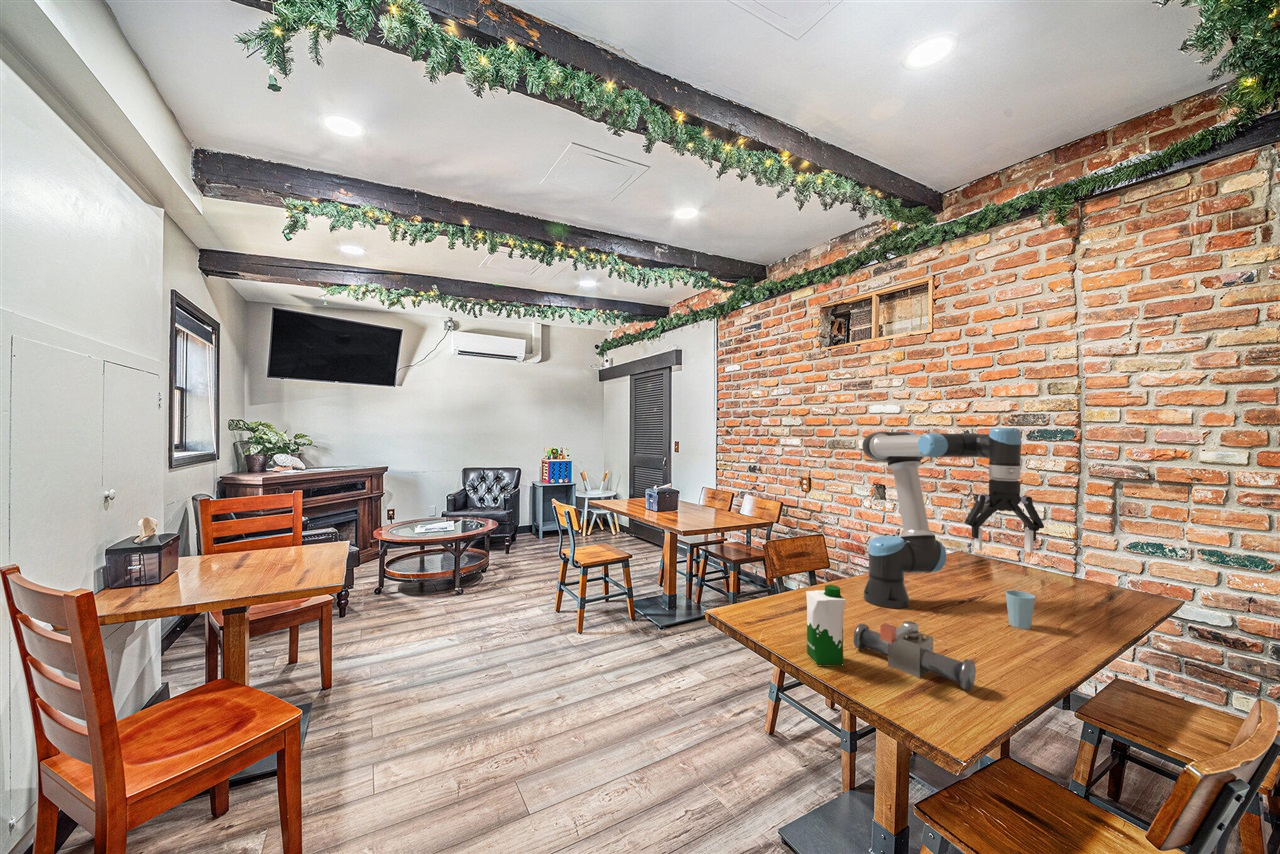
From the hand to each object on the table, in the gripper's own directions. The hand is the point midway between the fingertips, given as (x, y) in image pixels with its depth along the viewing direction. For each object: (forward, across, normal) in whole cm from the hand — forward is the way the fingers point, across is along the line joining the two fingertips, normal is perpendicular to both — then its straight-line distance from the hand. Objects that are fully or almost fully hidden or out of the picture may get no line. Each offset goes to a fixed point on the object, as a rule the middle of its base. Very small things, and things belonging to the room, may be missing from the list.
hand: (1003, 550), depth 143 cm
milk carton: (+28, -55, -20) cm, 65 cm away
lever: (+18, -37, -24) cm, 48 cm away
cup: (+28, +14, +16) cm, 35 cm away
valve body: (+28, -33, -20) cm, 48 cm away
